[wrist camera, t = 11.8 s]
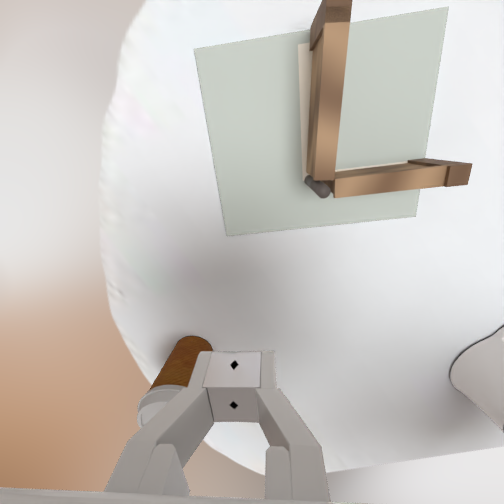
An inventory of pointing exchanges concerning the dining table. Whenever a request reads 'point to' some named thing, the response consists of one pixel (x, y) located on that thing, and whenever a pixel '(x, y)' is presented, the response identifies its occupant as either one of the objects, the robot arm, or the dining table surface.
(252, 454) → the dining table surface
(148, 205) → the dining table surface
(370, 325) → the dining table surface
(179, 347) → the disposable coffee cup
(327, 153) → the hinged fence panel
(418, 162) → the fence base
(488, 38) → the dining table surface
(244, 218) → the card
